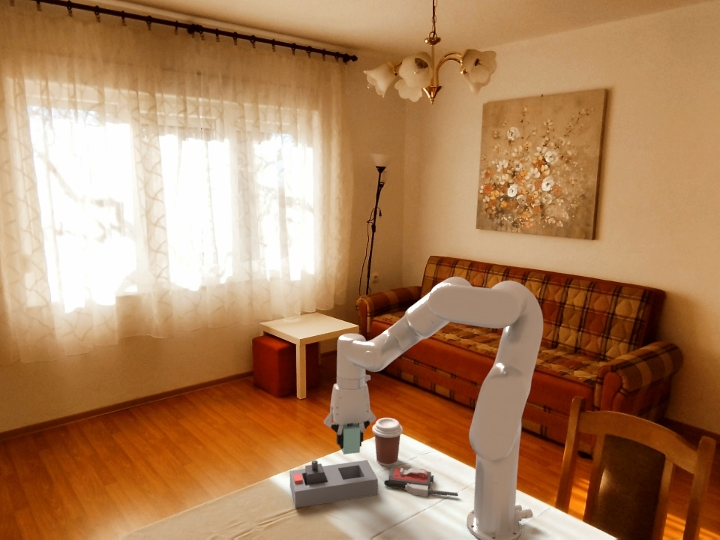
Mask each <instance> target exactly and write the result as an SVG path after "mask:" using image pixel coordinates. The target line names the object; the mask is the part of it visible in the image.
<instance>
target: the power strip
mask: <svg viewBox="0 0 720 540" xmlns="http://www.w3.org/2000/svg"><path fill="white" fill-rule="evenodd" d="M374 471H375V470H373V467H372V466H371V464H370V463H369V461H368V459H367V460H357V461H352V462H351V461H350V462H344V463H337V464H336V463H335V464H329V465H328V464H327V465H323V464H322V463H319V462H318V460H312V461H311V464H309V465H304V468H301V469H293V470H289V488H290V492H291V495H292V501H293V503H294V507H295V509H296V508H303V507H309V506H315V505H321V504H322V505H323V504H328V503H333V502H334V503H335V502H340V501H345V500H352V499H360V498H365V497H370V496H377V495H378V493H379V492H378V489H379V488H378V487H379V485H378V484H379V482H378V481H379V480H378V477H377V475H376V474H375V472H374Z"/></svg>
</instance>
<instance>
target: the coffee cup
mask: <svg viewBox="0 0 720 540" xmlns="http://www.w3.org/2000/svg"><path fill="white" fill-rule="evenodd" d="M376 420H377V421H376ZM376 420H375V424H373V426H372V430H371V431H372V433H373V434H374V440H375V441H374V443H375V457H376V463H377V464H379V465H380V464H381V466H383V465H384V466H383V467H391V466H394V465H396V464H398V460H399V450H400V442H401V441H400V440H401V435H402V434H403V432H404V429H403V426H402V425H401V424H400V422H399V420H397V419H395V418H391V417H383V418H379V419H376Z"/></svg>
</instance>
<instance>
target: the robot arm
mask: <svg viewBox="0 0 720 540" xmlns="http://www.w3.org/2000/svg"><path fill="white" fill-rule="evenodd" d="M449 323H455V324H459V325H460V324H462V325H467V326H468V325H469V326H475V327H482V328H490V329H503V330H502V334H501V337H500V339H499V345H498V350H497V353H496V357H495V360H494V363H493V366H492V367H491V369H490V371H489V372H488V373H487V375H486V377H485V378H484V380H483V381H482V384H481V387H480V390H479V393H478V398H477V402H476V404H475V410H474V413H473V416H472V420H471V421H472V422H471V424H470V427H469V434H468V435H469V436H468V437H469V443H470V445H471V446H470V447H471V449H472V450H473V451H474V453H475V454H476V455H475V475H474V497H473V498H474V500H473V510H471V511H470V512H469V513H468V515H467V516H466V526H467V528H468V530H469V532H470V533H471V534H472V535H473V536H475V538H478V539H479V540H518V538H519V539H520V537H521V532H522V527H521V524H520V522H521V521H522V520H523V519H530V518H533V517H534V513H533V511H532V509H531V508H527V509H523V508H522V506H521V504H517V505H516V502H517V500H516V498H517V484H518V483H517V481H518V468H519V454H520V442H521V434H522V417H523V413H524V409H525V407H526V404H527V399H528V397H529V395H530V392H531V386H532V380H533V375H534V371H535V368H536V363H537V360H538V355H539V352H540V347H541V343H542V340H543V339H542V338H543V332H544V317H543V312H542V309H541V306H540V304H539V301H538V299H537V298H536V296H535V295H534V294H533V292H531V290H530V289H529V288H527V287H526V286H525V285H523V284H522V283H520V282H518V281H514V280H503V281H500V282H498V283H496V284H495V285H494V286H492V287H491V288H488V287H478V286H473V285H472V284H471V283H470V281H468V280H467V279H465V278H463V277H459V276H452V277H448V278H447V279H444V280H443V281H441V282H439V283H437V284H436V285H435V286H434V287H433V288H431V290H430V291H429V292H428V293H426V294H425V295H424V296H423V297H422V298H421V299H419V300H418V301H417V302H415V303H414V304H413V305H411V306H410V307H408V308H407V310H406V311H405V313H404V315H403V316H402V317H401V318H400V319H399V320H397V321H396V322H395V323H393V325H391V326H390V327H389V328H387V329H386V330H385V331H383V332H382V333H381V334H379V335H377V336H376V337H374V338H373V339H370V340H366V338H365V336H363V335H362V334H360V333H344V334H342V335H340V336H339V337H338V339H337V341H336V342H337V343H336V345H337V347H336V348H337V349H336V351H337V352H336V353H337V354H336V355H337V356H336V383H334V384H333V387H332V392H331V398H330V399H331V400H330V411H329V413H328V414H327V416H326V417H325V418H324V420H323V423H324V425H325V426H327V427H328V428H330V429H331V430H332V431H334V432H335V433H336V445H337V446H338V447H339V448H340V450H341V449H343V434H342V430H343V426H344V424H350V423H358V425H359V427H360V448H361V447H362V443H363V442H364V432H366V429H367V428H369V426H370V425H371V424H372V423H374V422H376V420H377V416H376V415H375V414H374V413H373V410H371V405H370V404H371V403H370V393H369V387H368V384H367V382H368V381H371V375H370V374H367V373H366V370H367V371H368V372H373V373H375V372H380V371H382V370H384V369H385V368H386V367H388V365H390V364H391V363H392V362H394V360H396V359H398V357H400V356H401V355H402V354H404V353H405V352H406V351H408V350H409V349H410V348H412V347H413V346H414V345H416V344H418V343H419V342H420V341H422V340H425V339H426V340H427V339H428V338H430V337H431V336H433V335H435V333H437V332H439V331H440V330H441V329H443V328H444V327H445V326H446V325H448V324H449ZM332 421H333V422H332Z"/></svg>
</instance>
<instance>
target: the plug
mask: <svg viewBox="0 0 720 540" xmlns="http://www.w3.org/2000/svg"><path fill="white" fill-rule="evenodd" d="M342 434H343V449H341V448H340V450H341V451H342V454H343V455H350V454H359V453H360V451H361V447H360V427H359V425H358V423H350V424H344V426H343V430H342Z"/></svg>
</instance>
